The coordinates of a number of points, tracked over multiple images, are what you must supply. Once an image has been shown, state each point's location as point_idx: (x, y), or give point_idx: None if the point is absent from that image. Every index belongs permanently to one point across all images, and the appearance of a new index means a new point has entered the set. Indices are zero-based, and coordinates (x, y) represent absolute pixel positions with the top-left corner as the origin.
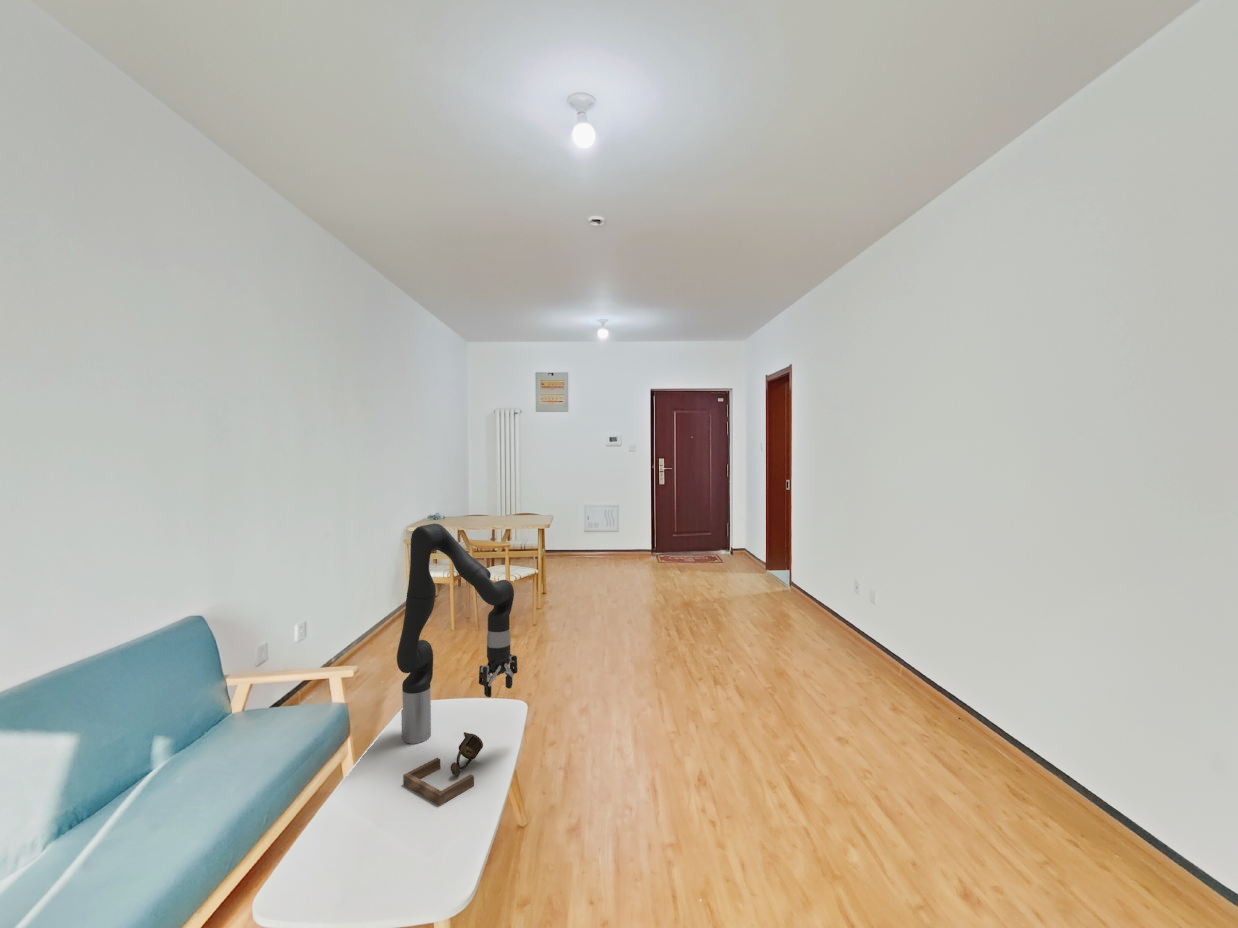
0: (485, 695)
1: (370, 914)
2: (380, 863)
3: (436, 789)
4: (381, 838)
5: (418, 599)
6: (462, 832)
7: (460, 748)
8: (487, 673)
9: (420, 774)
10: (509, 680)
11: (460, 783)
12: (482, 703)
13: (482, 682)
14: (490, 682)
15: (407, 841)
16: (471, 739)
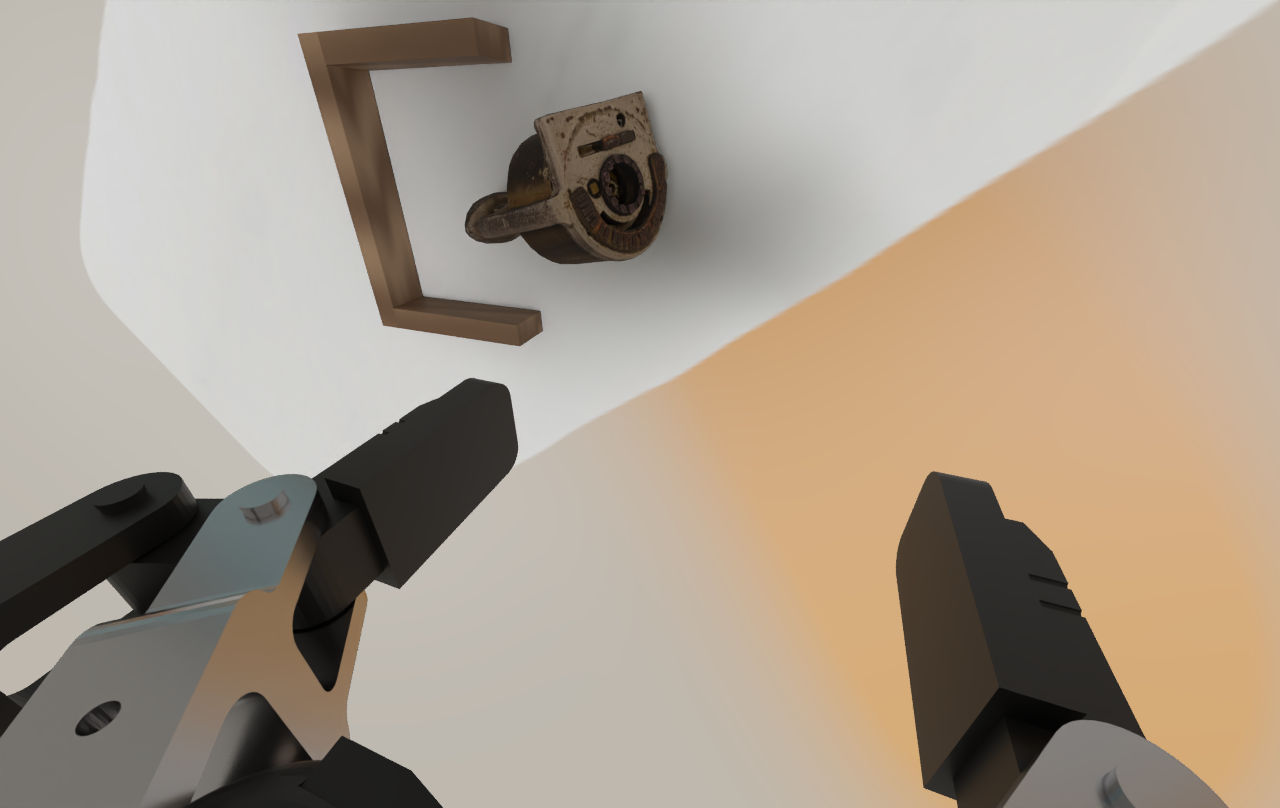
0: (474, 381)
1: (242, 440)
2: (256, 359)
3: (383, 286)
4: (259, 285)
5: None
6: None
7: (480, 224)
8: (70, 728)
9: (393, 65)
10: (916, 696)
11: (461, 336)
12: None
13: (136, 590)
14: (315, 648)
15: (310, 355)
16: (548, 229)
